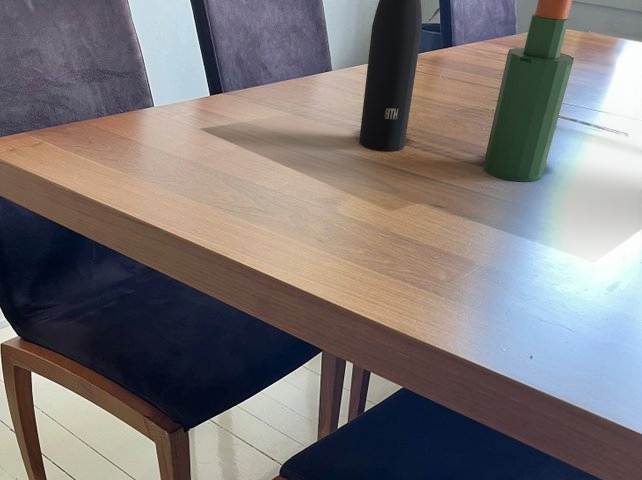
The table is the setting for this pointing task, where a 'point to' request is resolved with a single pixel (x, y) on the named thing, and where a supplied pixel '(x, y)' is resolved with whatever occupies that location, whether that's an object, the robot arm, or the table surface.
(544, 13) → the stopper
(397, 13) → the black tall cylinder
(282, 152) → the table surface
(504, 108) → the green bottle
